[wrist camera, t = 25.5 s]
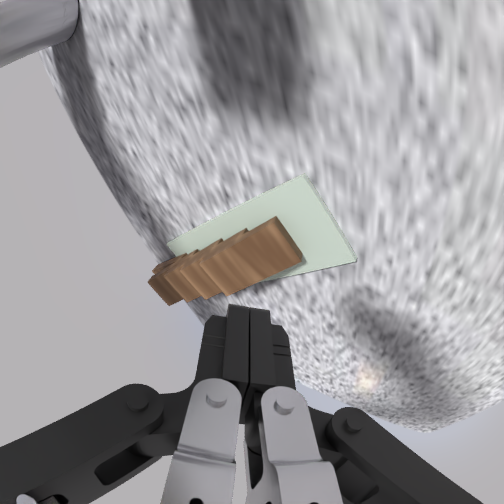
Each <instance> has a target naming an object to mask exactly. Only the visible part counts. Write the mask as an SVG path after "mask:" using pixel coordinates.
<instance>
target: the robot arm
mask: <svg viewBox="0 0 504 504" xmlns="http://www.w3.org/2000/svg"><path fill="white" fill-rule="evenodd" d="M77 19H78V0H6V1H3V2H0V68H1V67H3V66H5V65H8V64H10V63H12V62H14V61H16V60H18V59H21V58H23V57H25V56H27V55H30V54H32V53H35V52H37V51H40V50H42V49H45V48H48V47H50V46H53V45H56V44H59V43H61V42H64V41H66V40H68V39H69V38H70V37H71V36H72V34H73V32H74V30H75V27H76V24H77ZM239 424H245V440H244V455H245V468H246V480H247V497H246V504H483V503H482V502H481V501H479V500H478V499H476V498H475V497H473V496H472V495H471V494H469V493H468V492H466V491H465V490H464V489H462V488H461V487H460V486H458V485H457V484H455V483H454V482H453V481H451V480H450V479H449V478H447V477H445V476H444V475H443V474H442V473H441V472H439V471H438V470H436V469H435V468H434V467H433V466H431V465H430V464H429V463H427V462H426V461H425V460H423V459H422V458H421V457H420V456H418V455H417V454H416V453H414V452H413V451H412V450H411V449H409V448H408V447H407V446H405V445H404V444H403V443H402V442H400V441H399V440H398V439H397V438H395V437H394V436H393V435H392V434H390V433H389V432H388V431H387V430H385V429H384V428H383V427H382V426H380V425H379V424H378V423H377V422H376V421H375V420H373V419H372V418H371V417H369V416H368V415H367V414H366V413H365V412H363V411H362V410H360V409H357V408H353V407H345V408H341V409H339V410H338V411H337V412H335V414H334V415H332V414H329V413H325V412H322V411H319V410H316V409H313V408H311V407H309V406H308V405H307V402H306V400H305V398H304V397H303V396H302V395H301V394H300V393H299V392H298V391H296V387H295V380H294V372H293V365H292V358H291V351H290V344H289V337H288V335H287V333H286V332H285V330H284V329H283V327H282V326H280V325H273V324H271V319H270V311H269V310H264V309H257V308H251V307H250V308H249V307H245V306H239V305H233V304H229V305H228V310H227V315H226V317H221V316H216V315H212V316H211V317H210V318H209V320H208V321H207V322H206V323H205V327H204V333H203V338H202V344H201V349H200V354H199V360H198V365H197V371H196V376H195V380H194V382H193V383H192V384H191V385H190V386H189V387H188V388H187V389H185V390H183V391H180V392H177V393H168V394H159V393H158V392H157V391H155V390H154V389H153V388H151V387H149V386H147V385H143V384H129V385H126V386H124V387H122V388H120V389H118V390H116V391H114V392H112V393H111V394H109V395H107V396H105V397H103V398H101V399H99V400H97V401H95V402H93V403H92V404H90V405H88V406H86V407H84V408H82V409H80V410H78V411H76V412H74V413H72V414H70V415H68V416H66V417H64V418H62V419H60V420H58V421H56V422H54V423H52V424H50V425H48V426H46V427H43V428H41V429H39V430H37V431H35V432H33V433H31V434H29V435H26V436H24V437H22V438H20V439H18V440H15V441H13V442H11V443H9V444H6V445H4V446H2V447H0V504H89V503H91V502H92V501H94V500H96V499H98V498H99V497H101V496H103V495H104V494H106V493H108V492H109V491H111V490H113V489H115V488H116V487H118V486H119V485H121V484H123V483H124V482H126V481H128V480H129V479H131V478H132V477H134V476H135V475H137V474H138V473H140V472H141V471H143V470H144V469H146V468H147V467H149V466H150V465H152V464H153V463H155V462H156V461H158V460H159V459H160V458H161V457H162V456H167V455H173V457H172V461H171V465H170V468H169V473H168V476H167V480H166V484H165V488H164V492H163V496H162V500H161V504H232V497H233V489H234V481H235V472H236V462H235V449H236V442H237V433H238V425H239Z"/></svg>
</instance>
